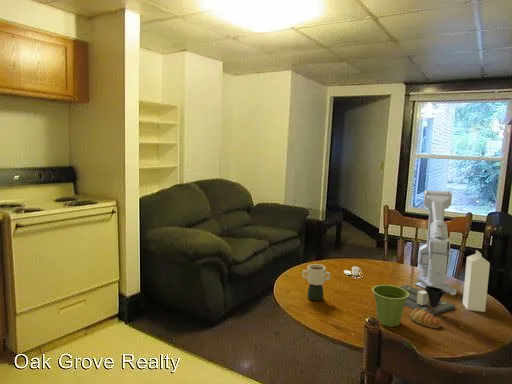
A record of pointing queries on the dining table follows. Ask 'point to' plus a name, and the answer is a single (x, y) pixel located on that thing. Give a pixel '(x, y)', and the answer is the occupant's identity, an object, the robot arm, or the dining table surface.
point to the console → (412, 303)
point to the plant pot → (389, 303)
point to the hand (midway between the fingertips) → (434, 306)
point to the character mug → (316, 280)
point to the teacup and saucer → (353, 272)
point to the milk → (476, 282)
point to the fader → (422, 298)
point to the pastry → (425, 318)
